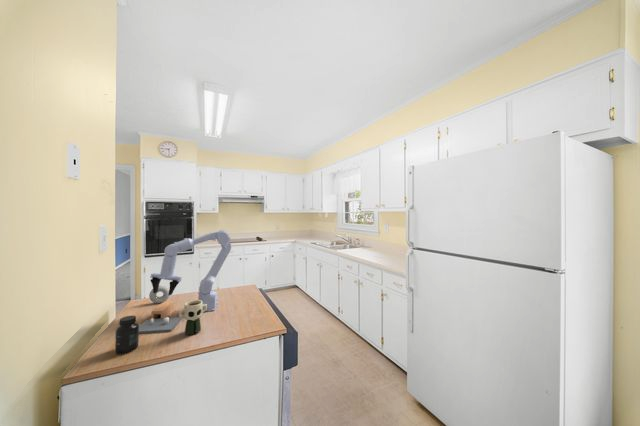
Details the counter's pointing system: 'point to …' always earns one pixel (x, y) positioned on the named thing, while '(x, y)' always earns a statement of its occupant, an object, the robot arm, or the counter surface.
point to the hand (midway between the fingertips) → (162, 293)
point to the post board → (159, 325)
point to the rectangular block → (162, 310)
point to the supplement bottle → (127, 335)
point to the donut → (159, 299)
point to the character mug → (193, 315)
